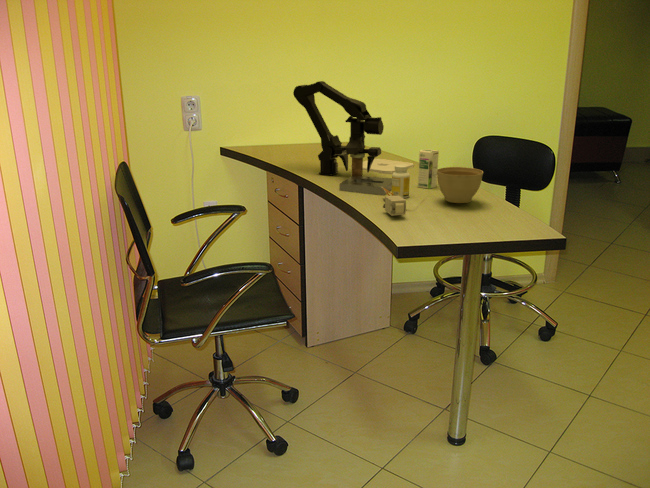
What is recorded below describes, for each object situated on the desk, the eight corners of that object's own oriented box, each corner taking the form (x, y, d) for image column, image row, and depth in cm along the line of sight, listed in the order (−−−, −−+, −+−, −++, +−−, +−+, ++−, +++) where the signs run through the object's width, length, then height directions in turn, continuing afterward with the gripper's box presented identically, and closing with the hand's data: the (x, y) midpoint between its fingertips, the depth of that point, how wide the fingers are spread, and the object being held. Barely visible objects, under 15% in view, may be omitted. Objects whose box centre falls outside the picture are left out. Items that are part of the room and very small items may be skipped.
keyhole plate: (339, 191, 236) (339, 183, 235) (352, 182, 250) (353, 175, 249) (384, 195, 229) (384, 187, 228) (395, 186, 243) (396, 178, 242)
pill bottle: (410, 195, 229) (411, 164, 225) (407, 199, 223) (408, 168, 220) (393, 194, 231) (394, 163, 227) (389, 198, 225) (390, 166, 222)
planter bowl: (490, 202, 219) (492, 172, 216) (457, 208, 211) (459, 177, 208) (458, 193, 232) (460, 164, 229) (426, 198, 224) (427, 169, 221)
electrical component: (369, 199, 224) (369, 185, 223) (384, 198, 226) (385, 184, 224) (391, 216, 202) (391, 201, 201) (408, 215, 204) (409, 200, 202)
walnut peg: (347, 181, 253) (348, 153, 249) (352, 178, 258) (353, 151, 254) (361, 182, 250) (362, 154, 247) (365, 179, 256) (366, 152, 252)
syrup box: (417, 187, 241) (418, 150, 237) (424, 184, 246) (426, 148, 241) (430, 189, 238) (432, 152, 233) (437, 186, 243) (439, 150, 238)
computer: (390, 177, 259) (390, 171, 259) (347, 171, 272) (348, 165, 271) (415, 169, 276) (416, 163, 275) (374, 163, 289) (375, 158, 288)
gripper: (328, 135, 244) (329, 174, 249) (373, 137, 238) (373, 176, 242) (338, 131, 254) (338, 168, 259) (381, 133, 247) (381, 171, 252)
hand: (357, 171), depth 253 cm, fingers open, 9 cm apart
